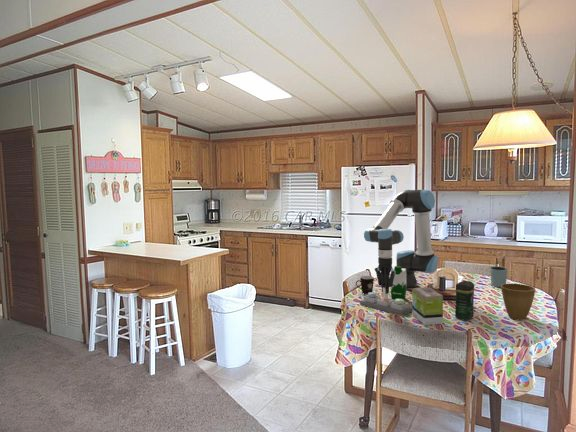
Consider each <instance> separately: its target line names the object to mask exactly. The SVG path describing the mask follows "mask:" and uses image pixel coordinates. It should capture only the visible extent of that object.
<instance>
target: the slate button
mask: <svg viewBox="0 0 576 432" xmlns="http://www.w3.org/2000/svg"><path fill="white" fill-rule="evenodd" d="M367 295H368V297H370V298H376V295H377V292H374V291H372V292H369V293H368V294H367Z"/></svg>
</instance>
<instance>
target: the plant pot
mask: <svg viewBox="0 0 576 432" xmlns="http://www.w3.org/2000/svg"><path fill="white" fill-rule="evenodd" d="M500 289H501V295H502V300H503V304H504V306H505V307H504V308H505V310H506V314H507V316H508V317H509V318H510V319H512V320H515V321H525V320H527V318H528V315H529V313H530V311H531V308H532V306H533V302H534V299H535V294H536V293H535V292H536V288H535V287H534V286H531V285H527V284H522V283H506V284H503V285H501V288H500Z"/></svg>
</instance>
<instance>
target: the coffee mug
mask: <svg viewBox="0 0 576 432" xmlns="http://www.w3.org/2000/svg"><path fill="white" fill-rule="evenodd" d="M359 279H360V280H356V282H355V286H356V287H357V288H358V289H360V290H361V293H362V294H363V293H364V294H363V295H368V293H369V292H374V291H373V290H374V279H375V277H374V276H372V275H362V276H360V278H359ZM358 282H360V286H359V285H358Z"/></svg>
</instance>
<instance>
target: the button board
mask: <svg viewBox="0 0 576 432" xmlns="http://www.w3.org/2000/svg"><path fill="white" fill-rule="evenodd" d="M381 298H382V296H380V295H377V294H376V298H370V297H368V294H366V295H364V296H363V299H361V300H359V305H361V306H365V307H369V308H373V309H377V310H380V311H383V312H388V313H392V314H396V315H400V316H402V317H403V316H405V315H407V314H409V313H411V312H412V306H409V302H406V301H404V304H403V305H398V304H395V300H394V299H391V297H388V298H389V299H390V301H387V302H386V301H382V300H381Z"/></svg>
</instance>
